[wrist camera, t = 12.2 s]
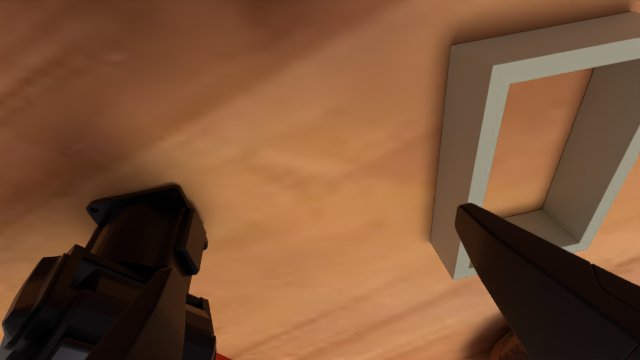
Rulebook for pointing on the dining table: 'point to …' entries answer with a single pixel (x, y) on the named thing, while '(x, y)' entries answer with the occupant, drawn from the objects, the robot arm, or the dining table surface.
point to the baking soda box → (221, 357)
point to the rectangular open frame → (583, 143)
